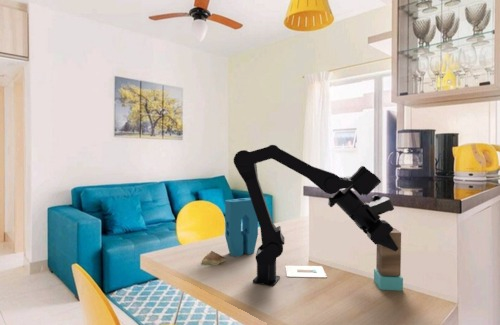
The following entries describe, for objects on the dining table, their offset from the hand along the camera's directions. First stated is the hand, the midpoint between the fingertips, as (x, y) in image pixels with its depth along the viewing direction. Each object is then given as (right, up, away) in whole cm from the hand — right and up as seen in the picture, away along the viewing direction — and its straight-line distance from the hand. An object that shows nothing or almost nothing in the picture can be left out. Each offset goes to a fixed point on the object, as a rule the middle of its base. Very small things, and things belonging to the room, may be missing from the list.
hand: (393, 246), depth 90 cm
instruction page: (-23, -11, +11) cm, 28 cm away
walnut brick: (-1, -7, 0) cm, 7 cm away
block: (-44, -10, +29) cm, 53 cm away
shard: (-54, -11, +22) cm, 60 cm away
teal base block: (-1, -11, +1) cm, 11 cm away
